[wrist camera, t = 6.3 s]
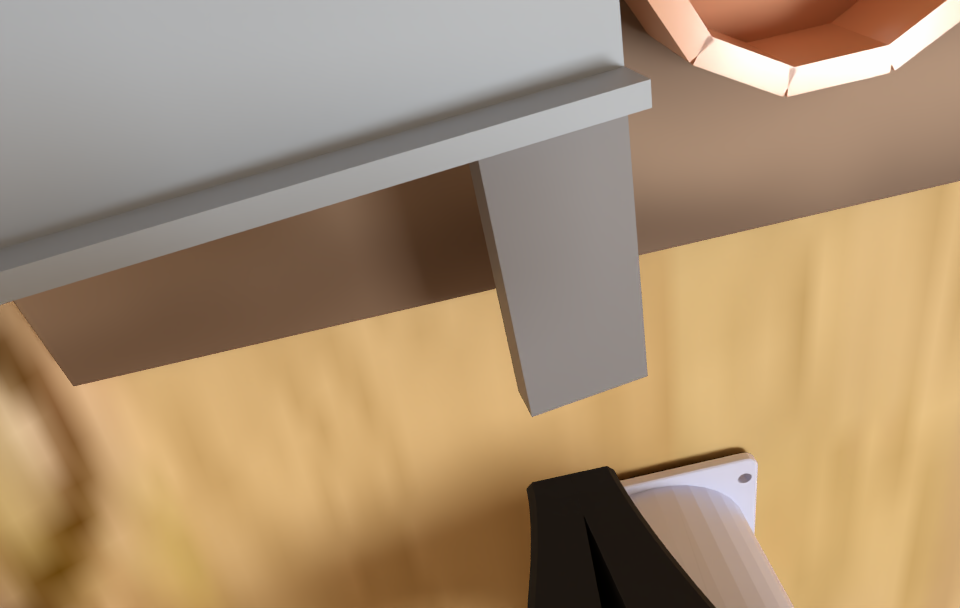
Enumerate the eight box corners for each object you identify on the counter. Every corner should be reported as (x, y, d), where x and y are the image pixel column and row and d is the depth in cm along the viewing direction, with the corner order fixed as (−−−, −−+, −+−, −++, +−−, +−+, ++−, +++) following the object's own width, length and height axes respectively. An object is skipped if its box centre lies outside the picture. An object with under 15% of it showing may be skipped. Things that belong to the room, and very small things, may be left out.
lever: (602, 319, 19) (679, 415, 15) (42, 511, 17) (-10, 666, 14) (530, -296, 12) (645, -370, 8) (-467, -80, 10) (-849, -60, 6)
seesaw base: (939, 166, 20) (1064, 236, 16) (86, 364, 20) (21, 477, 17) (1083, -562, 12) (1384, -740, 8) (-313, -225, 12) (-602, -257, 9)
